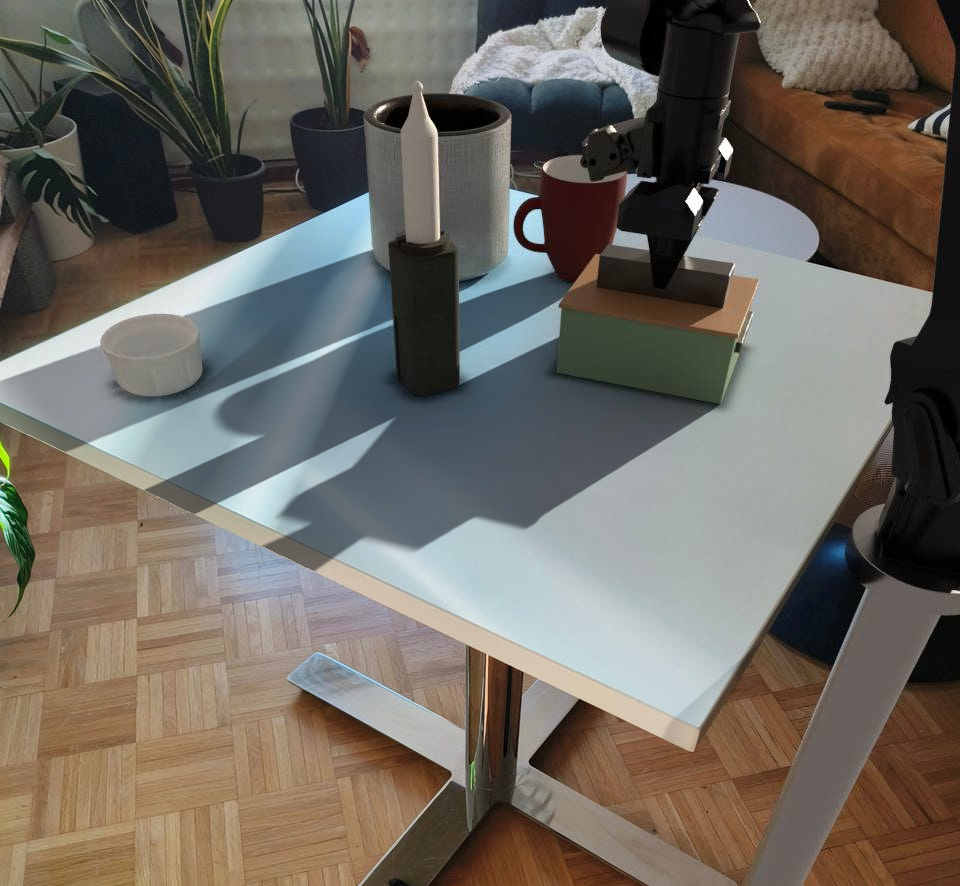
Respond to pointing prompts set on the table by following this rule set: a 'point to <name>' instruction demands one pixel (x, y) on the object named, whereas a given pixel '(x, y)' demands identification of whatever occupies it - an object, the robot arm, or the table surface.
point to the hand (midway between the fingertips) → (663, 280)
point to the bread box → (653, 338)
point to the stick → (687, 284)
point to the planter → (446, 176)
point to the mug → (573, 215)
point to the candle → (424, 267)
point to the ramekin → (154, 353)
